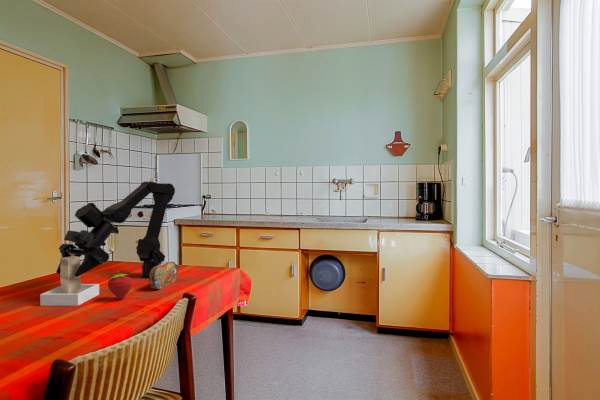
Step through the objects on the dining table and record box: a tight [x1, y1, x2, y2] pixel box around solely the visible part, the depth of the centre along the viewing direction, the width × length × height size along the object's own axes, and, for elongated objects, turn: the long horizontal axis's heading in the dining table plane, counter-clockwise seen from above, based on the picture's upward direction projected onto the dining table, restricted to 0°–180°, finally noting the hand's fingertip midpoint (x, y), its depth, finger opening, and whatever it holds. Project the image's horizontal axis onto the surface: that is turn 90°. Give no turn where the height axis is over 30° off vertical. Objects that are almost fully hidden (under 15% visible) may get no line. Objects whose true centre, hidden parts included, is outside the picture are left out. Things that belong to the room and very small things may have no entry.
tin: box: [148, 261, 179, 290], centre depth 131 cm, size 15×3×8 cm, turn 168°
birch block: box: [59, 256, 82, 294], centre depth 114 cm, size 4×4×13 cm
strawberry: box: [107, 271, 134, 301], centre depth 115 cm, size 6×8×10 cm
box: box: [39, 283, 100, 307], centre depth 115 cm, size 12×12×4 cm
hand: (66, 274), depth 113 cm, fingers open, 9 cm apart
